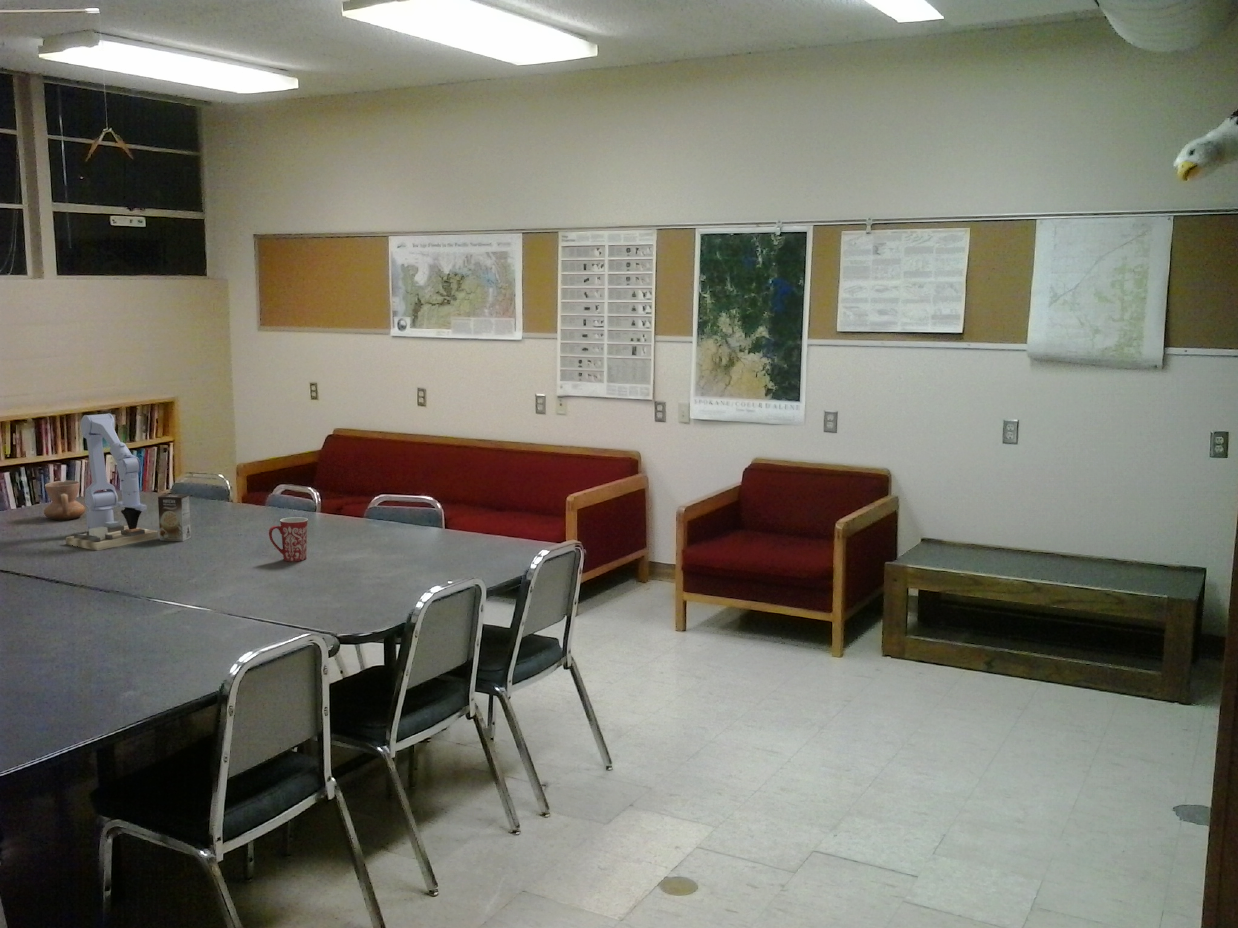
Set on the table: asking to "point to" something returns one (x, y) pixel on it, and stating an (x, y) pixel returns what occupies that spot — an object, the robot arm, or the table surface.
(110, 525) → the grey button
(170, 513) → the coffee box
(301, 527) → the mug
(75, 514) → the ceramic jug
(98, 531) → the slider knob
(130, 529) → the terracotta button
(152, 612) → the table surface
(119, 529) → the control panel
